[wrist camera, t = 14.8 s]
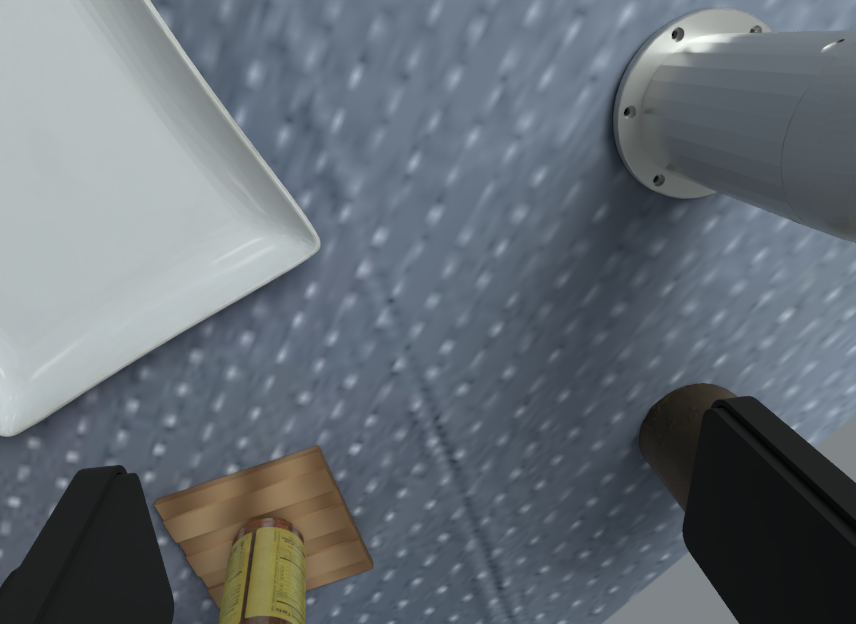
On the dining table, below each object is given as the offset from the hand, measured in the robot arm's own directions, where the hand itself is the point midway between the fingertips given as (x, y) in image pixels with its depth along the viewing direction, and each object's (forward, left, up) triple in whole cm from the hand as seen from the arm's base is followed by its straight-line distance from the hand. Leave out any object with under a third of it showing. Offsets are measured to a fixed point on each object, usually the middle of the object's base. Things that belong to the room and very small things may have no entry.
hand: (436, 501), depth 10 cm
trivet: (+10, +32, -34) cm, 48 cm away
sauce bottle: (+10, +32, -33) cm, 47 cm away
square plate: (+21, 0, -35) cm, 41 cm away
